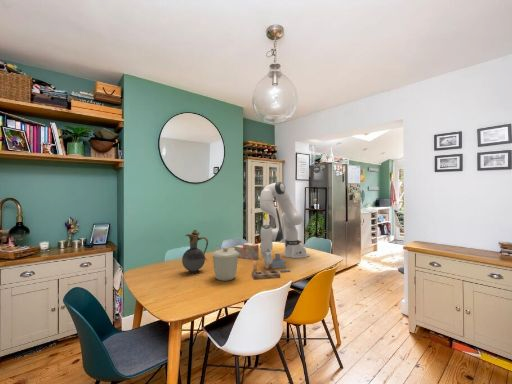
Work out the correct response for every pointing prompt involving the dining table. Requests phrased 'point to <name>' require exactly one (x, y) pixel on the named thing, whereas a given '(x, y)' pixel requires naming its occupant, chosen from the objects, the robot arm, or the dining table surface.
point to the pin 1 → (254, 265)
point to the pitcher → (194, 254)
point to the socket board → (265, 274)
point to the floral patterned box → (248, 251)
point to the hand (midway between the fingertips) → (266, 266)
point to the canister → (225, 263)
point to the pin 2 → (265, 266)
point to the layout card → (285, 270)
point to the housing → (278, 262)
